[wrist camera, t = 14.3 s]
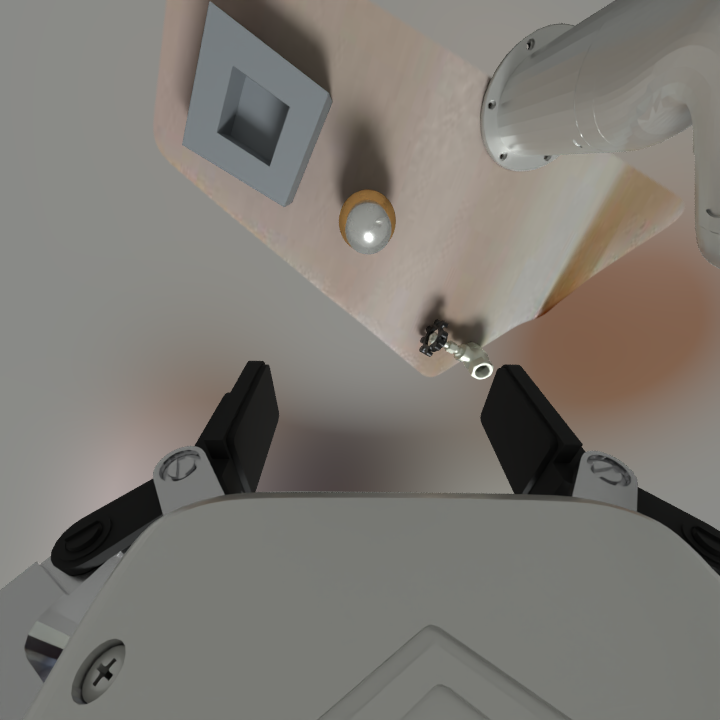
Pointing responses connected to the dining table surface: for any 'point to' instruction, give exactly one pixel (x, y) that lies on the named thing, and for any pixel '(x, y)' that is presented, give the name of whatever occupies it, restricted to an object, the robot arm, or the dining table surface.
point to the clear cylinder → (367, 221)
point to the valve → (457, 350)
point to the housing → (253, 110)
